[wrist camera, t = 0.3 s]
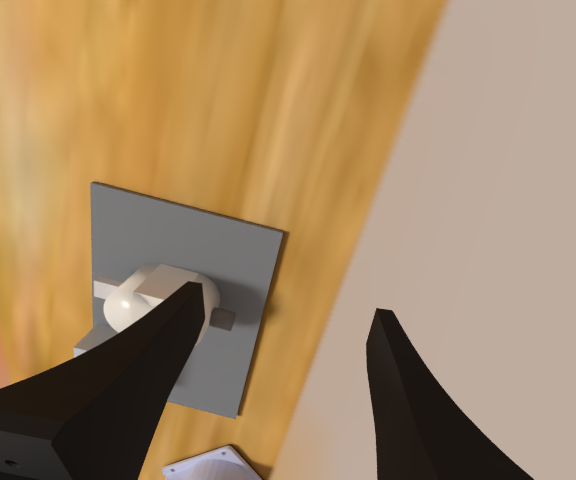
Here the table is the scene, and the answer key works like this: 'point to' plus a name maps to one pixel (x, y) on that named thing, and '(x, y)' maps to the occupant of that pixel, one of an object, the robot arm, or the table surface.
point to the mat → (196, 258)
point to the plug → (157, 296)
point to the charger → (94, 338)
